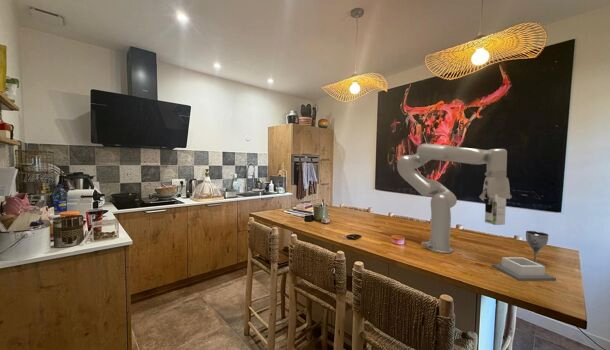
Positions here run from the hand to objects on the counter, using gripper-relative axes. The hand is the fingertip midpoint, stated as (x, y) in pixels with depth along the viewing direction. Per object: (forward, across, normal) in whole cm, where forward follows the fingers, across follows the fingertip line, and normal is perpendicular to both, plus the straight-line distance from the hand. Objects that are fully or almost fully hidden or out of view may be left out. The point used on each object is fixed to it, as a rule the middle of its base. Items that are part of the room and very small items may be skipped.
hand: (495, 212), depth 119 cm
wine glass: (+25, +20, -1) cm, 32 cm away
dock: (+25, +4, -11) cm, 27 cm away
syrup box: (+6, 0, 0) cm, 6 cm away
